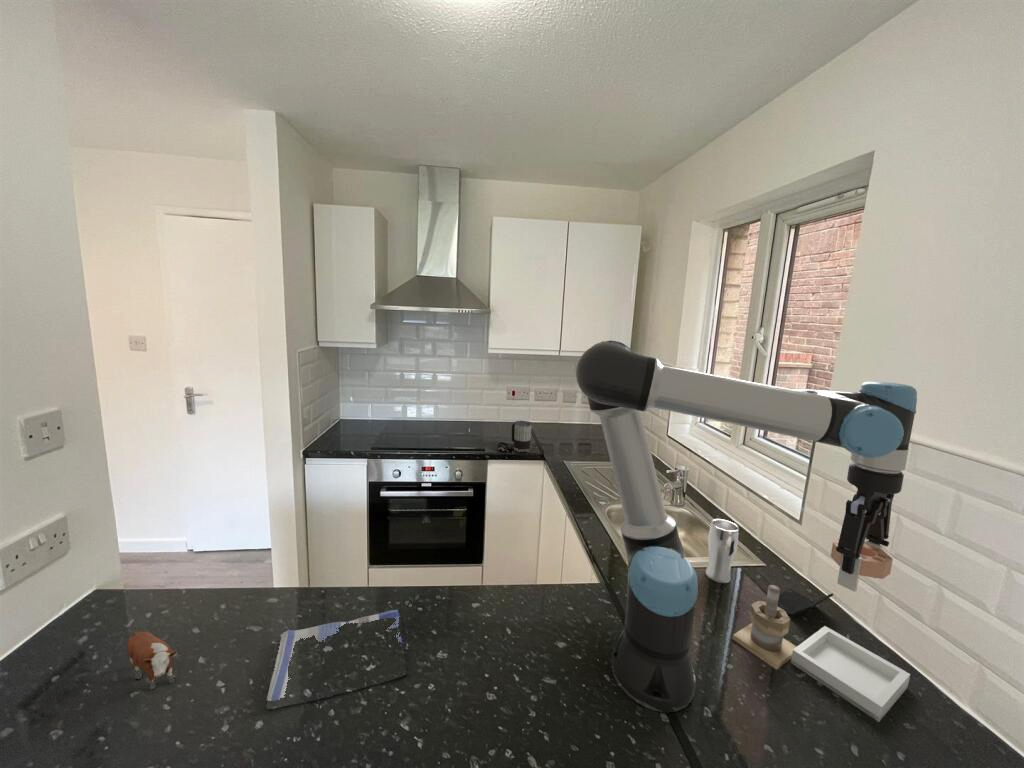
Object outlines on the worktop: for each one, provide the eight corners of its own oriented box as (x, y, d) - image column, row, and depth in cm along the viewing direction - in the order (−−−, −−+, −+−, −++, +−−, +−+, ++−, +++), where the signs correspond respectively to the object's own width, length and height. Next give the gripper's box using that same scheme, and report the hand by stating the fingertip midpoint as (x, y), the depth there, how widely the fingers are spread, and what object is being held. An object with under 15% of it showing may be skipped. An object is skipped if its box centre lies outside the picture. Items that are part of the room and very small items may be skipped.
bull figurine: (154, 710, 66) (149, 666, 65) (125, 670, 73) (120, 630, 72) (186, 690, 70) (182, 648, 69) (156, 654, 77) (152, 615, 76)
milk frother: (534, 450, 211) (535, 423, 208) (514, 457, 199) (515, 428, 197) (513, 444, 220) (515, 417, 218) (493, 450, 208) (494, 422, 206)
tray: (878, 722, 70) (882, 707, 70) (790, 662, 82) (792, 649, 82) (907, 687, 78) (910, 674, 77) (822, 638, 89) (824, 625, 89)
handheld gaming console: (781, 581, 107) (812, 567, 100) (804, 608, 103) (838, 595, 97) (762, 604, 100) (794, 590, 93) (787, 633, 97) (822, 621, 90)
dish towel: (282, 639, 83) (281, 626, 82) (401, 616, 90) (401, 605, 90) (260, 717, 66) (260, 702, 66) (408, 681, 74) (408, 668, 74)
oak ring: (776, 640, 81) (778, 627, 81) (744, 619, 87) (746, 607, 86) (792, 629, 85) (794, 616, 84) (760, 610, 90) (762, 597, 89)
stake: (776, 669, 80) (786, 608, 78) (732, 638, 88) (740, 581, 86) (798, 652, 85) (809, 594, 83) (755, 624, 92) (763, 570, 90)
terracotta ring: (895, 570, 76) (898, 555, 75) (876, 582, 72) (879, 567, 71) (844, 549, 82) (846, 535, 82) (824, 559, 79) (827, 545, 78)
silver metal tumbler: (736, 586, 106) (743, 533, 104) (707, 582, 107) (714, 529, 105) (727, 571, 113) (734, 520, 110) (701, 566, 114) (707, 517, 112)
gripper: (874, 453, 83) (857, 556, 86) (824, 468, 72) (807, 585, 76) (925, 464, 76) (904, 575, 79) (877, 483, 66) (856, 610, 69)
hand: (857, 580), depth 78 cm, fingers closed on terracotta ring, 8 cm apart
